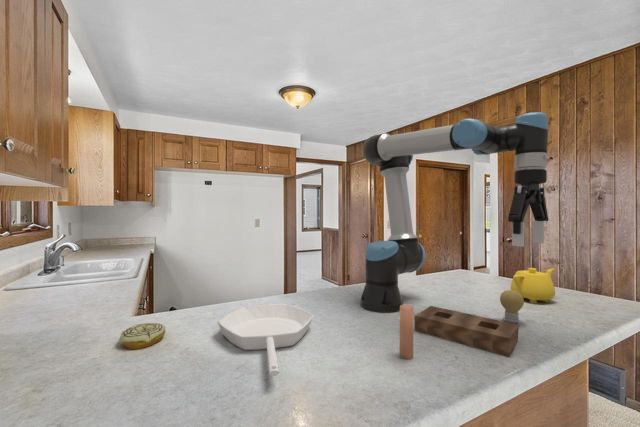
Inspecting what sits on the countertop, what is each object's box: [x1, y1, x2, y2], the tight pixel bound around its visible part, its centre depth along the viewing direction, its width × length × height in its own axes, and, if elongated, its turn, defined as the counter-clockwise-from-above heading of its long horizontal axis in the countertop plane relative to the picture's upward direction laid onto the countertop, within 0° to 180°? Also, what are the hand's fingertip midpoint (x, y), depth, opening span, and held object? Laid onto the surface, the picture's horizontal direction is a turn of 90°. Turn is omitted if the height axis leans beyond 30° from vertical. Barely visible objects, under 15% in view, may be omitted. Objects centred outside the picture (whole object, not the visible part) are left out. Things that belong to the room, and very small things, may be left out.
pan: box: [217, 303, 315, 377], centre depth 81 cm, size 28×41×4 cm
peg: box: [399, 304, 415, 360], centre depth 74 cm, size 3×3×12 cm
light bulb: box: [499, 289, 525, 324], centre depth 97 cm, size 6×6×10 cm
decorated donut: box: [118, 322, 166, 350], centre depth 83 cm, size 10×11×4 cm
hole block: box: [414, 305, 519, 358], centre depth 86 cm, size 24×12×4 cm, turn 49°
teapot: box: [510, 267, 556, 304], centre depth 121 cm, size 13×20×12 cm
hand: (528, 244), depth 87 cm, fingers open, 13 cm apart
